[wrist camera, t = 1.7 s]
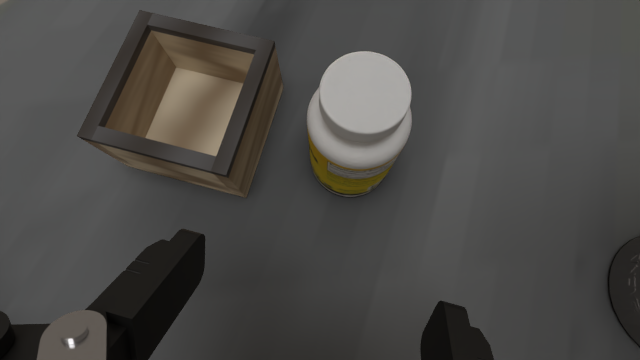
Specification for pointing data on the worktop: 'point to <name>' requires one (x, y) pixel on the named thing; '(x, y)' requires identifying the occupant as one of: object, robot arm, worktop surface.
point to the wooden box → (188, 102)
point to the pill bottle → (358, 122)
